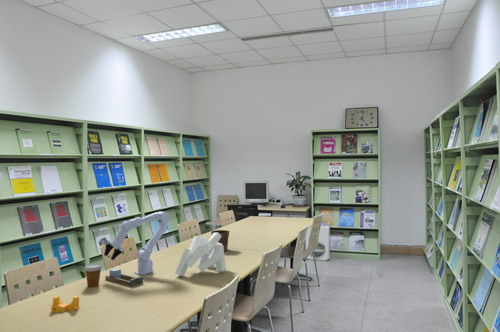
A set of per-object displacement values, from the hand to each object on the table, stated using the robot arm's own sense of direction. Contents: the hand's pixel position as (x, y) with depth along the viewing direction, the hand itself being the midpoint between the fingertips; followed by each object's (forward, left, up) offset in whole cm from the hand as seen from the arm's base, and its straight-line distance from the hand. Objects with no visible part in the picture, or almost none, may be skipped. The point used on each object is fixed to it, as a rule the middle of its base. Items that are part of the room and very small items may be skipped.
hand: (108, 257), depth 248 cm
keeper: (-2, +4, -14) cm, 14 cm away
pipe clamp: (+46, +27, -14) cm, 55 cm away
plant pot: (-105, +10, -14) cm, 106 cm away
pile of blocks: (-45, +42, -14) cm, 63 cm away
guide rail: (-2, +12, -14) cm, 18 cm away
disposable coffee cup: (+14, +4, -14) cm, 20 cm away
